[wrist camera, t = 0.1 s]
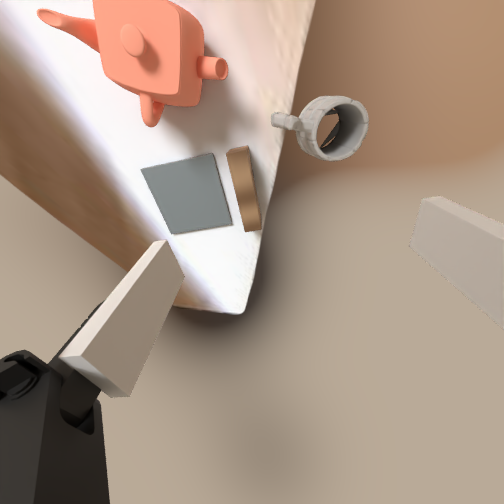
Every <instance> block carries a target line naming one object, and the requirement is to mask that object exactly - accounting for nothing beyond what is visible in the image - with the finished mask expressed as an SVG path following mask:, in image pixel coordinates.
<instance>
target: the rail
mask: <svg viewBox="0 0 504 504" xmlns="http://www.w3.org/2000/svg"><path fill="white" fill-rule="evenodd" d="M226 156H227V161H228V165H229V169H230V173H231V177H232V181H233V185H234V189H235V193H236V197H237V201H238V205H239V210H240V214H241V218H242V222H243V226H244V230H245V232H249V231H255V230H261V214H260V208H259V203H258V197H257V192H256V187H255V181H254V176H253V171H252V165H251V160H250V155H249V149H248V146H243V147H239V148H234V149H230V150H229V151H228V152H227V154H226Z"/></svg>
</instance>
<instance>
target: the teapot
mask: <svg viewBox="0 0 504 504" xmlns="http://www.w3.org/2000/svg"><path fill="white" fill-rule="evenodd" d="M93 8H94V16H95V20H92V19H85V18H77V17H72V16H67V15H64V14H61V13H58V12H55V11H52V10H49V9H38V10H37V15H38V17H39V18H40V19H41V20H42V21H43V22H45V23H46V24H48V25H50V26H52V27H55V28H57V29H60V30H63V31H65V32H67V33H69V34H71V35H73V36H75V37H76V38H78V39H79V40H81V41H82V42H84V43H85V44H87V45H88V46H90V47H91V48H92V49H94V50H96V51H97V52H99V53H100V56H101V62H102V66H103V70H104V73H105V75H106V76H107V77H108V78H109V79H111V80H112V81H113V82H115V83H116V84H118V85H119V86H121V87H122V88H124V89H126V90H128V91H130V92H132V93H135V94H137V95H139V96H140V106H141V114H142V118H143V121H144V123H145V124H146V125H147V126H148V127H154V126H156V125H157V123H158V122H159V120H160V117H161V115H162V112H163V109H164V105H165V104H166V105H172V106H181V107H192V106H196V105H197V104H198V103H199V101H200V96H201V89H202V79H214V80H224V79H226V77H227V75H228V65H227V62H226V61H225V60H224V59H223V58H216V57H207V56H204V33H203V28H202V26H201V24H200V23H199V21H198V20H197V19H196V18H195V17H194V16H193V15H192V14H190V13H189V12H188V11H186V10H185V9H183V8H182V7H180V6H178V5H176V4H174V3H172V2H170V1H168V0H93ZM153 101H154V102H153Z"/></svg>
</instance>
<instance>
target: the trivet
mask: <svg viewBox="0 0 504 504" xmlns="http://www.w3.org/2000/svg"><path fill="white" fill-rule="evenodd" d="M141 172H142V174H143V176H144V178H145V180H146V182H147V184H148V186H149V188H150V191H151V193H152V195H153V197H154V199H155V201H156V203H157V205H158V207H159V209H160V212H161V214H162V216H163V218H164V220H165V222H166V224H167V226H168V228H169V231H170V233H171V234H175V233H181V232H187V231H193V230H199V229H205V228H211V227H217V226H223V225H229V224H232V221H231V217H230V214H229V210H228V206H227V203H226V199H225V196H224V192H223V188H222V185H221V181H220V178H219V174H218V170H217V167H216V163H215V159H214V156H213V153H211V154H207V155H202V156H198V157H193V158H188V159H184V160H179V161H175V162H170V163H165V164H161V165H156V166H152V167H147V168H143V169H141Z"/></svg>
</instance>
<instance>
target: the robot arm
mask: <svg viewBox="0 0 504 504" xmlns="http://www.w3.org/2000/svg"><path fill="white" fill-rule="evenodd" d="M409 247H410V248H411V249H412V250H413V251H415V252H416V253H417V254H418V255H419V256H420V257H421V258H422V259H424V260H425V261H426V262H427V263H428V264H429V265H430V266H432V267H433V268H434V269H435V270H436V271H437V272H439V273H440V274H441V275H442V276H443V277H444V278H445V279H446V280H447V281H449V282H450V283H451V284H452V285H453V286H454V287H456V288H457V289H458V290H459V291H460V292H461V293H462V294H463V295H465V296H466V297H467V298H468V299H469V300H470V301H471V302H472V303H474V304H475V305H476V306H477V307H478V308H479V309H480V310H482V311H483V312H484V313H485V314H486V315H487V316H488V317H489V318H491V319H492V320H493V321H494V322H495V323H496V324H497V325H499V326H500V327H501V328H502V329H503V330H504V224H502V223H500V222H498V221H496V220H493V219H491V218H489V217H487V216H484V215H482V214H480V213H478V212H475V211H473V210H471V209H469V208H467V207H464V206H462V205H460V204H458V203H455V202H453V201H451V200H449V199H446V198H444V197H442V196H434V197H428V198H423V199H422V201H421V205H420V208H419V212H418V216H417V219H416V223H415V227H414V230H413V234H412V238H411V241H410V245H409ZM184 277H185V276H184V274H183V272H182V270H181V268H180V266H179V264H178V262H177V259H176V257H175V255H174V253H173V251H172V249H171V247H170V245H169V243H168V241H167V240H161V241H155V242H153V244H152V245H151V246H150V247H149V248H148V250H147V251H146V252H145V253H144V254H143V256H142V257H141V258H140V259H139V260H138V262H137V263H136V264H135V265H134V267H133V268H132V269H131V270H130V271H129V273H128V274H127V275H126V277H124V279H123V280H122V281H121V282H120V283H119V285H118V286H117V287H116V288H115V290H114V291H113V292H112V293H111V294H110V296H109V297H108V298H107V299H105V300H104V301H103V302H102V303H100V304H99V305H98V306H97V307H96V308H95V309H94V310H93V312H92V313H91V314H90V315H89V316H88V319H86V320H85V321H84V322H83V323H82V325H81V327H80V328H78V329H77V330H76V332H75V333H74V334H73V335H72V336H71V337H70V339H69V340H68V341H67V342H66V343H65V345H64V346H63V347H62V348H61V349H60V350H59V352H58V353H57V354H56V355H55V356H54V357H53V359H52V360H51V361H50V362H49V363H48V364H46V363H45V362H43V361H42V360H40V359H39V358H38V357H36V356H35V355H33V354H32V353H31V352H29V351H26V350H21V351H16V352H14V353H12V354H9V355H7V356H5V357H4V358H2V359H0V504H110V500H109V489H108V478H107V467H106V456H105V446H104V434H103V423H102V412H101V404H100V402H99V401H98V400H97V397H98V395H99V393H100V392H101V390H102V391H103V392H104V393H106V394H107V395H108V396H109V397H111V398H113V397H129V396H130V395H131V392H132V390H133V388H134V385H135V384H136V381H137V379H138V377H139V375H140V373H141V371H142V369H143V366H144V364H145V362H146V360H147V358H148V356H149V353H150V351H151V349H152V347H153V345H154V342H155V340H156V338H157V336H158V334H159V332H160V329H161V327H162V325H163V323H164V320H165V319H166V316H167V314H168V312H169V310H170V308H171V306H172V303H173V301H174V299H175V297H176V295H177V293H178V290H179V288H180V286H181V284H182V282H183V280H184Z"/></svg>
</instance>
